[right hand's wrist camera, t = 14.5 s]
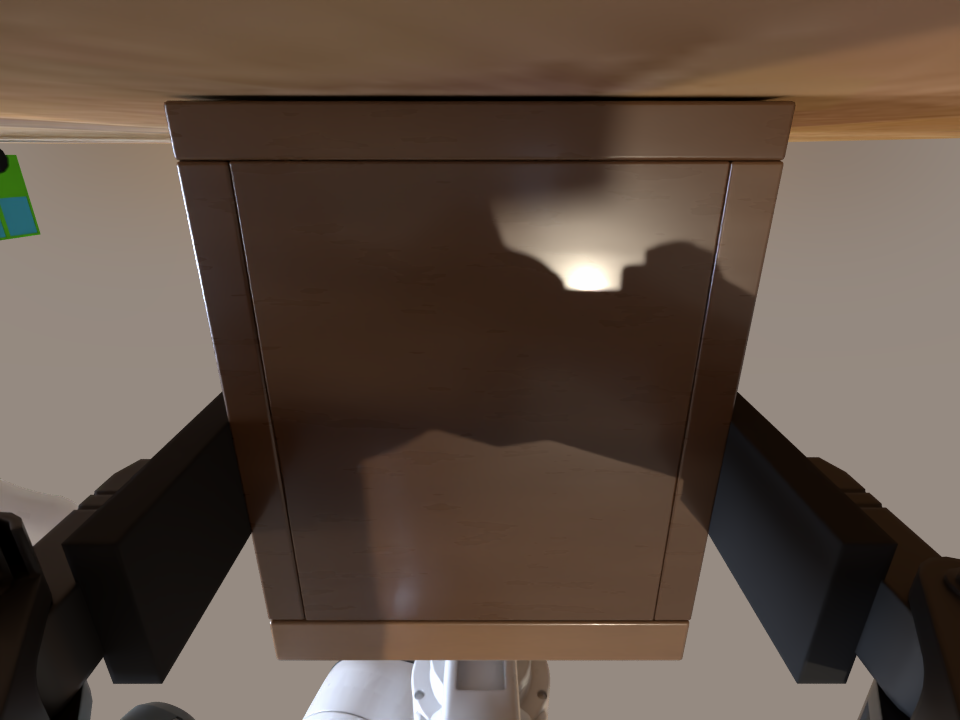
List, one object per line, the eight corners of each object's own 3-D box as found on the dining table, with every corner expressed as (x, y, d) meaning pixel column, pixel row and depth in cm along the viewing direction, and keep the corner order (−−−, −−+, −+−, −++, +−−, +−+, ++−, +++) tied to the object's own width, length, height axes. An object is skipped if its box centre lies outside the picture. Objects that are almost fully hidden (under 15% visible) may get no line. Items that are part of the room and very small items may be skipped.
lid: (569, 350, 29) (560, 490, 32) (389, 350, 29) (399, 490, 32) (690, 622, 12) (644, 850, 16) (268, 622, 12) (314, 850, 16)
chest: (587, 131, 24) (571, 354, 28) (371, 131, 24) (387, 354, 28) (798, 101, 8) (691, 621, 12) (160, 99, 8) (267, 620, 12)
